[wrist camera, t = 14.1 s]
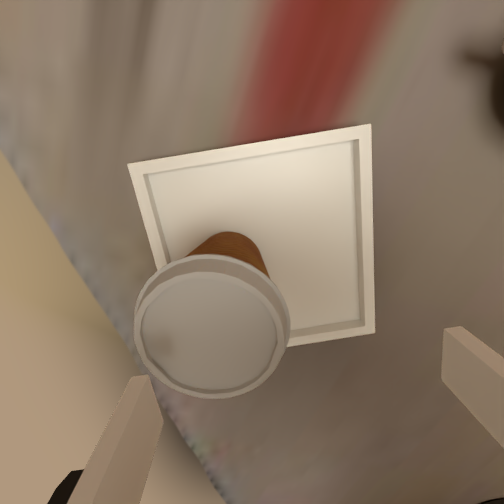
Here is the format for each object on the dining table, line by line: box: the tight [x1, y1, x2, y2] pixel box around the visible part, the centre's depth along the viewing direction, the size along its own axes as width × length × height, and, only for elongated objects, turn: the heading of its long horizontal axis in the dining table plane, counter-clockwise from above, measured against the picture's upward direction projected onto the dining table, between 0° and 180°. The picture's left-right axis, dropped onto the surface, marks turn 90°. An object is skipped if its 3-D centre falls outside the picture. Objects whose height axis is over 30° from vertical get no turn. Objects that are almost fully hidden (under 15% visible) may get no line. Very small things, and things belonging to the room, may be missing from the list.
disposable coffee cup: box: [134, 232, 290, 399], centre depth 22 cm, size 10×10×12 cm
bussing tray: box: [127, 124, 375, 347], centre depth 28 cm, size 20×20×2 cm
